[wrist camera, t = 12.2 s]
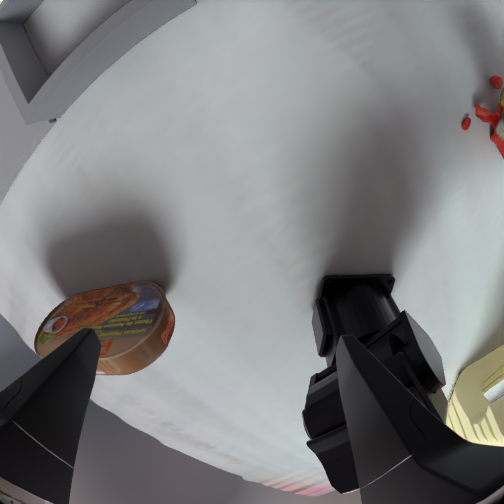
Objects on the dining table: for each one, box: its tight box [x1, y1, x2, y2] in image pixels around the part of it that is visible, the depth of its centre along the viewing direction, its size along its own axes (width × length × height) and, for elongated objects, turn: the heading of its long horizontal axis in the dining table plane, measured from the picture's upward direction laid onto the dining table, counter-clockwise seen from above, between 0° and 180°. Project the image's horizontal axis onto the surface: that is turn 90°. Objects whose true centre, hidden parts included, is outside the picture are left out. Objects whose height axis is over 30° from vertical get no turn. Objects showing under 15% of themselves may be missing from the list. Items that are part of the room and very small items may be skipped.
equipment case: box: [0, 0, 197, 204], centre depth 11 cm, size 13×26×4 cm, turn 121°
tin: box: [34, 281, 175, 375], centre depth 20 cm, size 15×3×8 cm, turn 104°
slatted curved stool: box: [446, 344, 504, 447], centre depth 24 cm, size 30×16×18 cm, turn 23°
